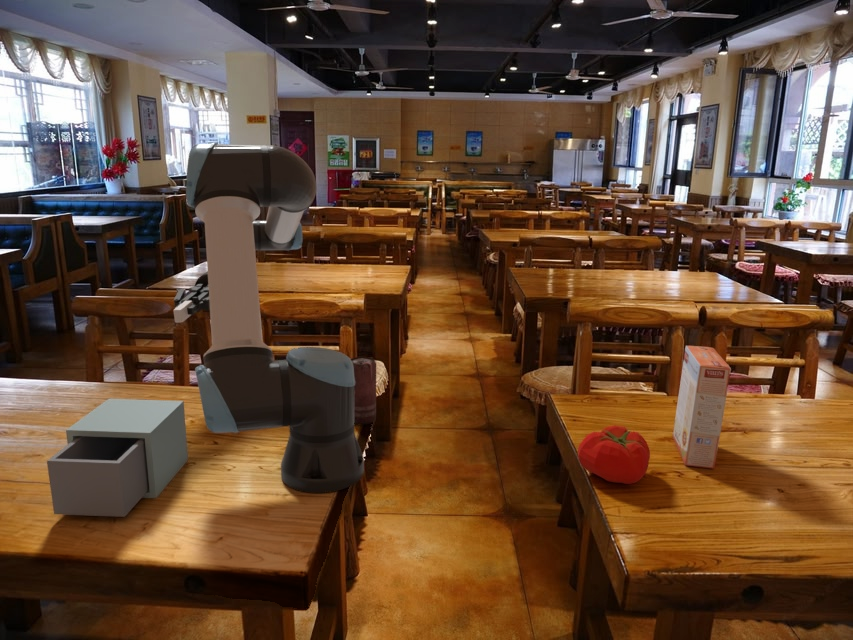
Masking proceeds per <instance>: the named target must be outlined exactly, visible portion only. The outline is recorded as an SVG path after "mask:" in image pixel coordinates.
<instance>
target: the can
mask: <svg viewBox="0 0 853 640" xmlns="http://www.w3.org/2000/svg"><path fill="white" fill-rule="evenodd" d="M350 359H351V361H352V363H353V367H354V378H355V386H354V423H355V424H354V425H358V424H361V425H360V426H362V425H369V424H372V423H374V422H375V420H376V418H377V362H376V361H375V359H374V358H373V357H369V356H356V357H352V358H350Z"/></svg>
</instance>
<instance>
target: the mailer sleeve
mask: <svg viewBox="0 0 853 640" xmlns="http://www.w3.org/2000/svg"><path fill="white" fill-rule="evenodd" d="M184 402H185V401H184V400H169V399H168V400H166V399H165V400H160V399H134V398H132V399H131V398H108V399H107V400H105V401H103V402H102V403H101V404H99V405H98V406H97V407H95V408H94V409H93V410H91V411H90V412H89V413H87V414H85V415H84V416H83V417H82V418H80V419H79V420H78V421H76V422H75V423H73V424H72V425H71V426H69V427H68V428H67V429H65V434H66V442H67V445H68V444H69V443H70V442H72V441H73V440H74V439H76V438H77V437H78V436H91V437H121V438H145V447H146V458H147V468H148V479H149V490H148V491H147V492H146V493H145V494H144V495H143V497H142V498H141V499H157V498H158V497H159V495H161V493H162V492H163V491H164V489H165V488H166V487H167V486H168V485H169V483H170V482H171V481H172V480H173V478H174V477H175V476H176V475H177V474H178V473H179V472H180V470H181V469H182V468H183V467H184V465H185V464H186V463H187V462H188V461H189V454H188V441H187V439H188V438H187V427H186V416H185V415H186V414H185V403H184Z"/></svg>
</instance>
